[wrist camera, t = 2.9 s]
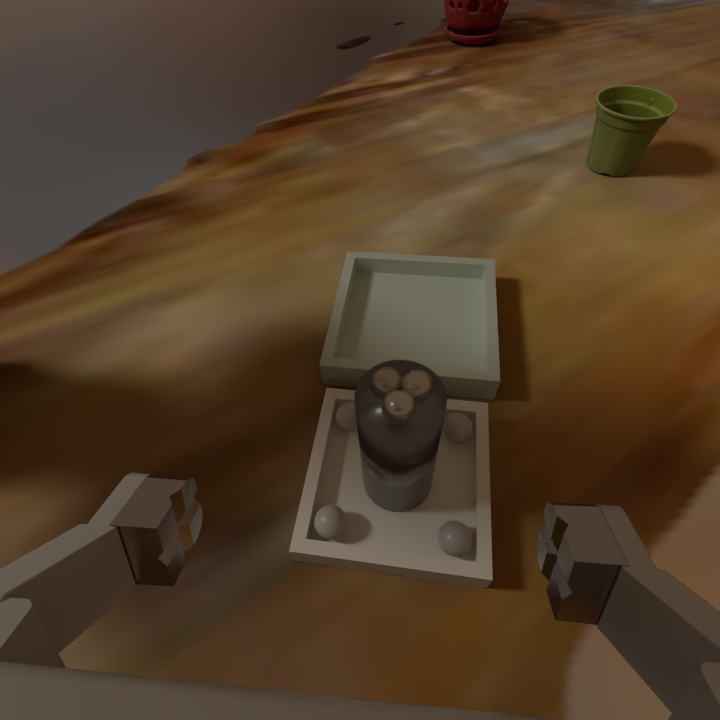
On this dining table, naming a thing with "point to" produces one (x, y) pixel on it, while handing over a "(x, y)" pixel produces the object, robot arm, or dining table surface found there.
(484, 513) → the tray
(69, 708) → the robot arm
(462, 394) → the bin
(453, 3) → the plant pot
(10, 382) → the dining table surface
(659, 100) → the plant pot
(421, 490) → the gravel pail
